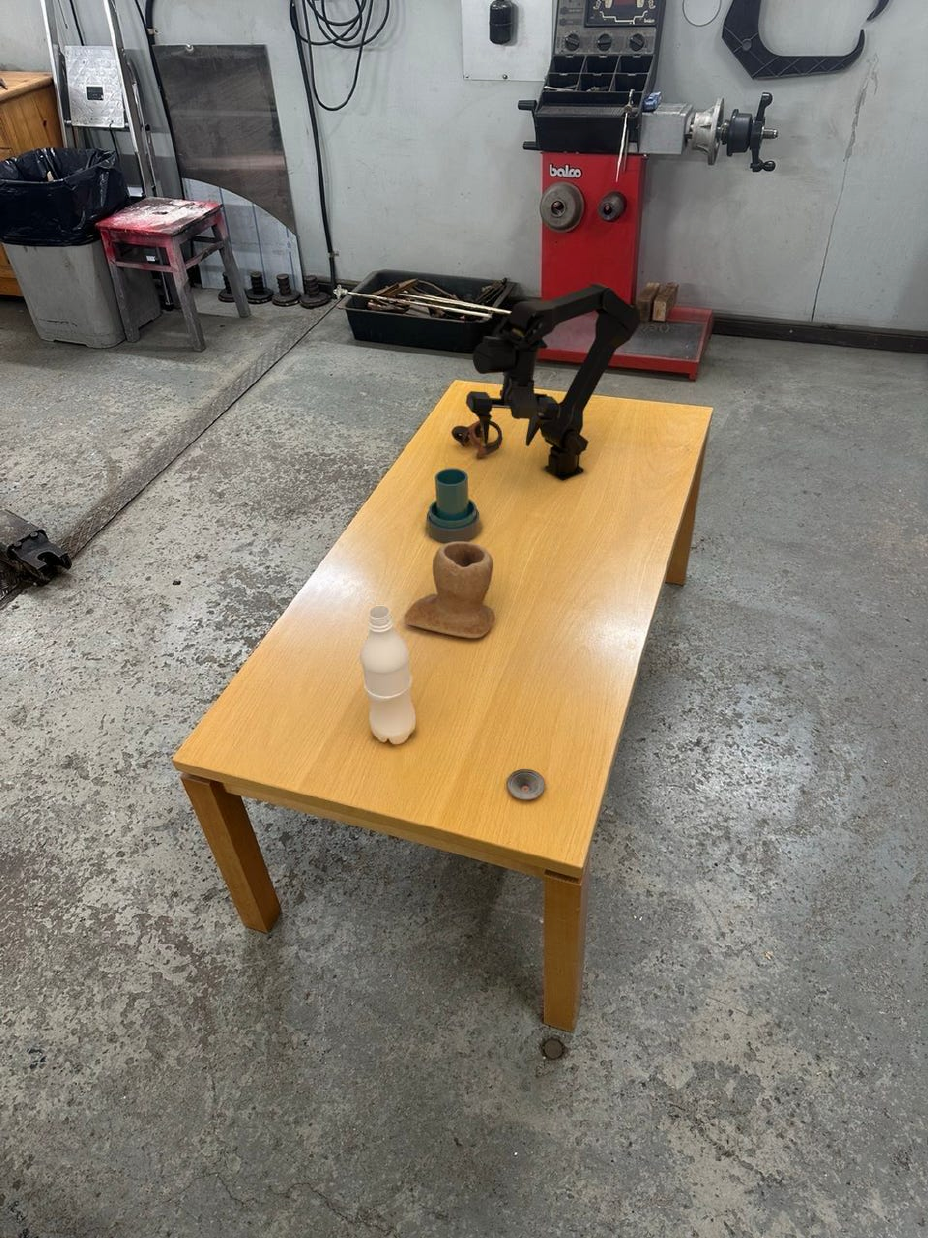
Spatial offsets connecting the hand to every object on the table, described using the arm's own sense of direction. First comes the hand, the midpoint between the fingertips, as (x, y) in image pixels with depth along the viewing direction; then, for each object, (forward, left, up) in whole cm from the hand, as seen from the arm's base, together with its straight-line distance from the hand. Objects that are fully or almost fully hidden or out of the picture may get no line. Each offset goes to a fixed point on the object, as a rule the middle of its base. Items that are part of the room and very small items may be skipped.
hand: (506, 444), depth 177 cm
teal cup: (+16, +3, -11) cm, 20 cm away
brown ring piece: (-7, -21, -13) cm, 25 cm away
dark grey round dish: (+45, +65, -13) cm, 81 cm away
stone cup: (+32, +27, -13) cm, 44 cm away
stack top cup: (+16, +3, -13) cm, 21 cm away
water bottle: (+55, +44, -13) cm, 72 cm away
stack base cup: (+16, +3, -13) cm, 21 cm away
